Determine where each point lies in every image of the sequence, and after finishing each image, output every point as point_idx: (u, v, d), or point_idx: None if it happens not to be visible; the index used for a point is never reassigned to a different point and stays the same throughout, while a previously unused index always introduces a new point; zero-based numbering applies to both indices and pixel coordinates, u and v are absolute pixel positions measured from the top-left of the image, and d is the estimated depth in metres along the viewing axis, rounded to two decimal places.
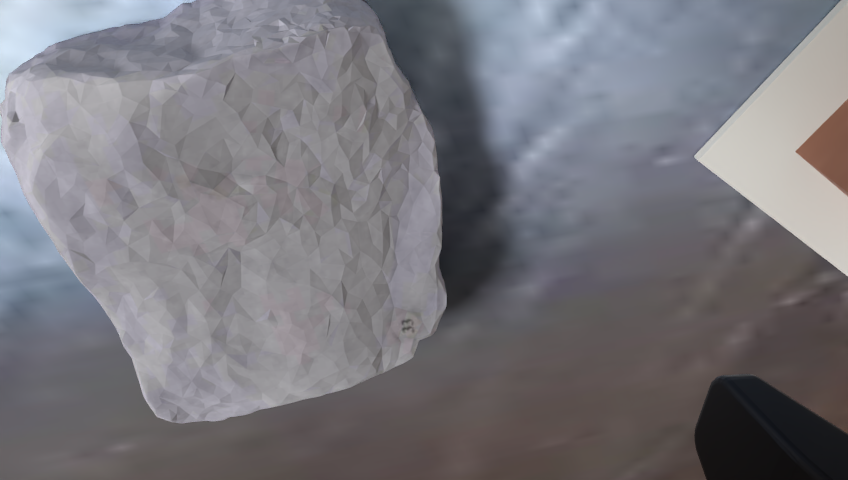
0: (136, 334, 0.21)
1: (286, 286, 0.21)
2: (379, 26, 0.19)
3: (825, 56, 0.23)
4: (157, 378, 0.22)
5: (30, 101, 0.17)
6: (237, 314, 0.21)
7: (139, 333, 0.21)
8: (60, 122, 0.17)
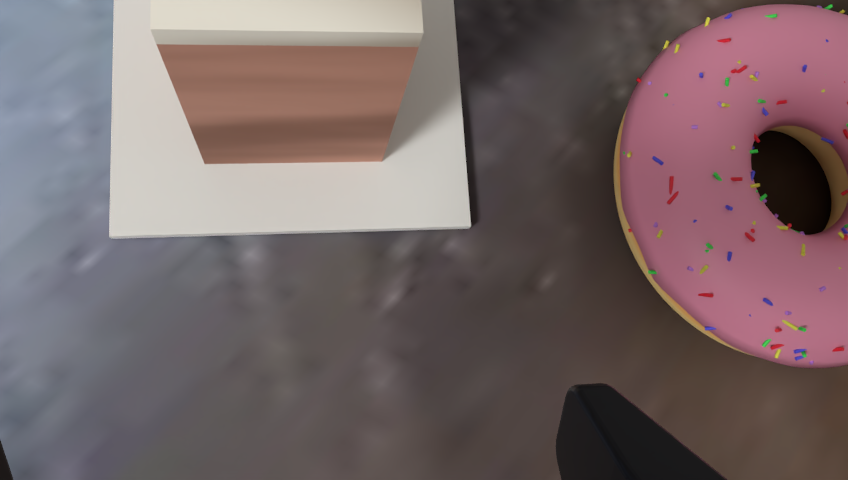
0: None
1: None
2: None
3: (141, 80, 0.22)
4: None
5: None
6: None
7: None
8: None
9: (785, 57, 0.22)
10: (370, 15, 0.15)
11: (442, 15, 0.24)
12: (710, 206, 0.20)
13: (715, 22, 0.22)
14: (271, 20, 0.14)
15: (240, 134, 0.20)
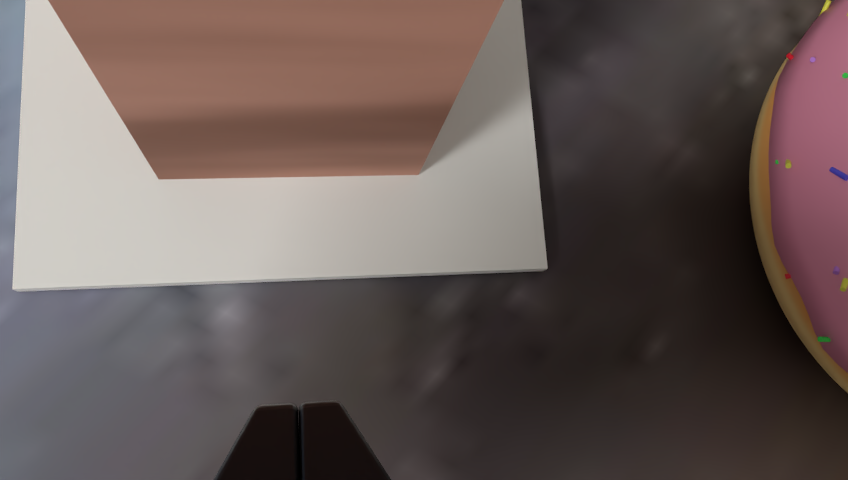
0: None
1: None
2: None
3: (66, 56, 0.15)
4: None
5: None
6: None
7: None
8: None
9: None
10: None
11: None
12: None
13: None
14: None
15: (207, 134, 0.13)
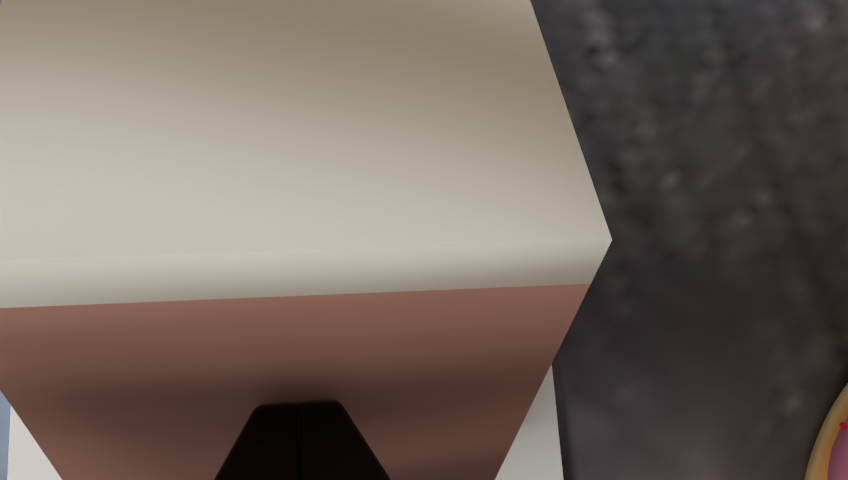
0: None
1: None
2: None
3: None
4: None
5: None
6: None
7: None
8: None
9: None
10: (479, 208, 0.06)
11: None
12: None
13: None
14: (239, 229, 0.06)
15: None
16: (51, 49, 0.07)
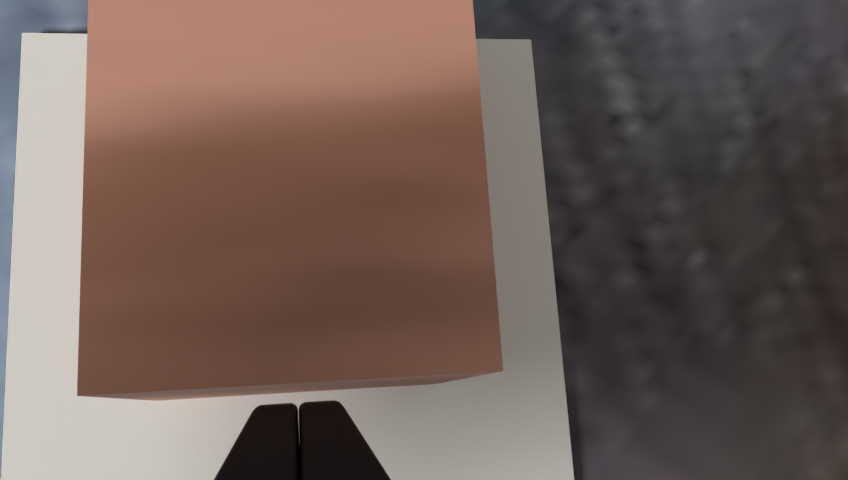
0: None
1: None
2: None
3: None
4: None
5: None
6: None
7: None
8: None
9: None
10: None
11: (546, 395, 0.15)
12: None
13: None
14: None
15: (183, 190, 0.09)
16: None
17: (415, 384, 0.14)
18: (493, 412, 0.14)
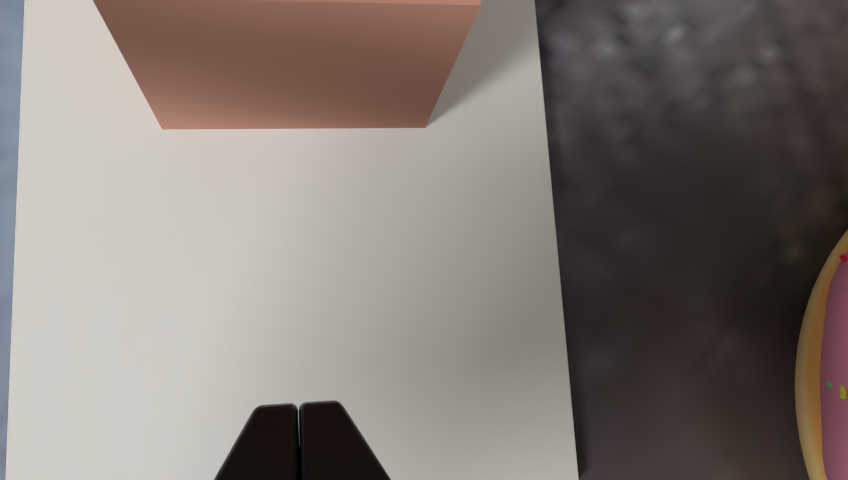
0: None
1: None
2: None
3: (61, 263, 0.14)
4: None
5: None
6: None
7: None
8: None
9: None
10: None
11: (529, 143, 0.16)
12: None
13: None
14: None
15: None
16: None
17: (405, 117, 0.15)
18: (479, 155, 0.15)
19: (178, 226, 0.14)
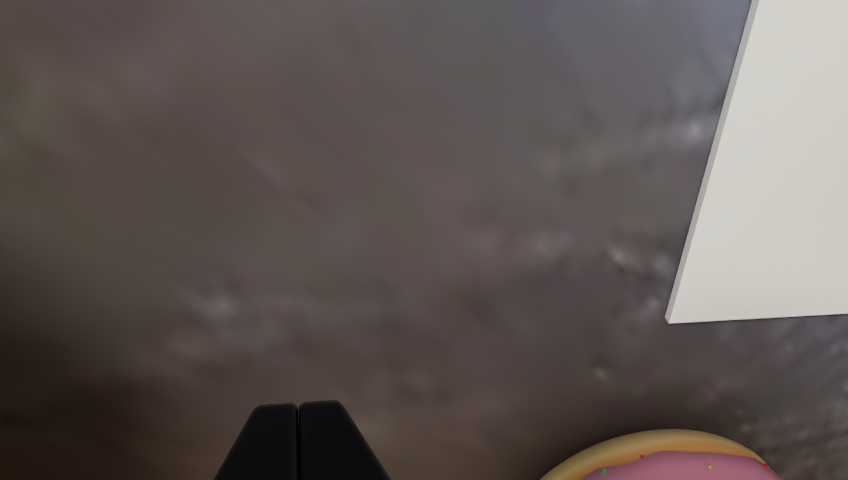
0: None
1: None
2: None
3: None
4: None
5: None
6: None
7: None
8: None
9: None
10: None
11: None
12: None
13: None
14: None
15: None
16: None
17: None
18: None
19: None
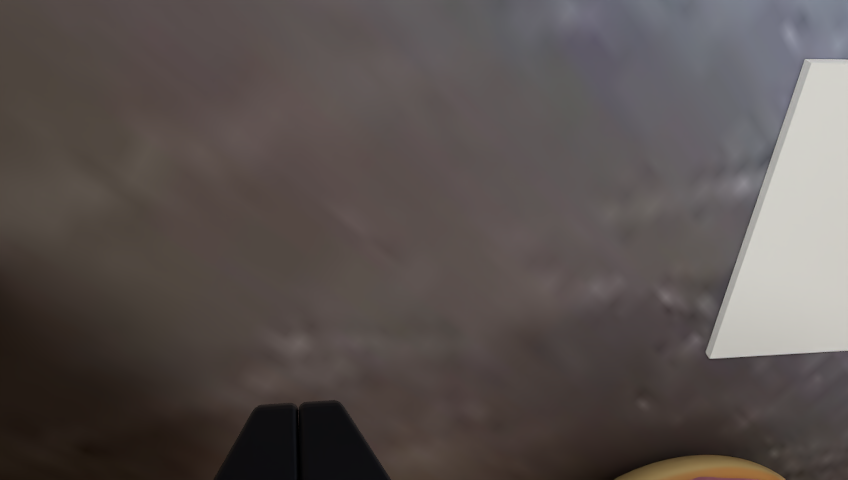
0: None
1: None
2: None
3: None
4: None
5: None
6: None
7: None
8: None
9: None
10: None
11: None
12: None
13: None
14: None
15: None
16: None
17: None
18: None
19: None
